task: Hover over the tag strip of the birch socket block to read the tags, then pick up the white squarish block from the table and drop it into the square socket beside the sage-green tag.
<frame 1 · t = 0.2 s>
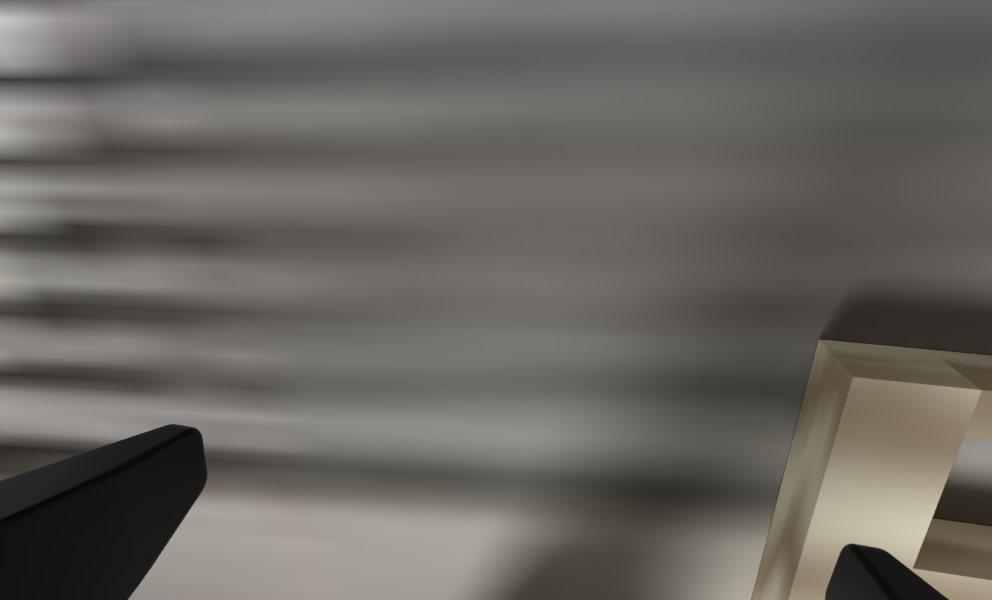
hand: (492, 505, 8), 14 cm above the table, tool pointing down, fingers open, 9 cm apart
socket block: (936, 553, 22), on the table
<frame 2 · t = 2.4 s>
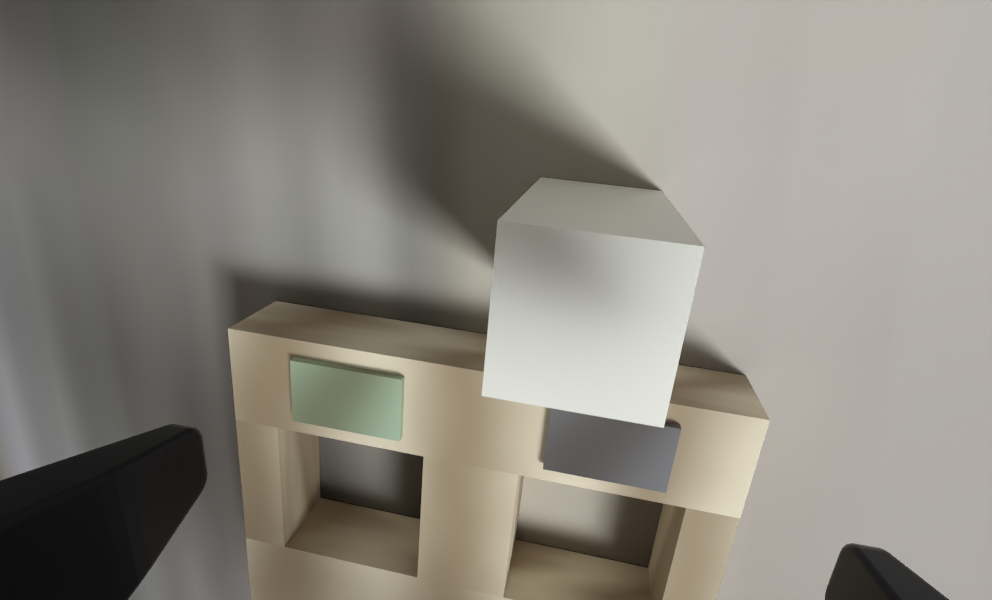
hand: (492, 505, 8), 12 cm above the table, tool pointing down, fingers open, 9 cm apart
socket block: (482, 478, 23), on the table
white squarish block: (591, 242, 19), on the table
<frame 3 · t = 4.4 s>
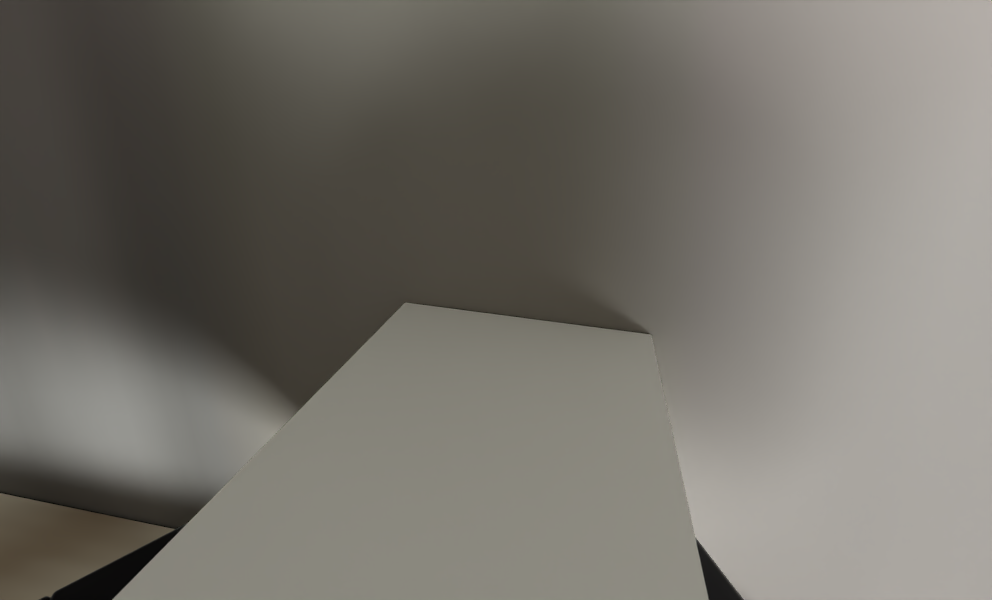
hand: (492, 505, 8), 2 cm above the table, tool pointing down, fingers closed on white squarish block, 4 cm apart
white squarish block: (514, 424, 9), on the table, touching gripper
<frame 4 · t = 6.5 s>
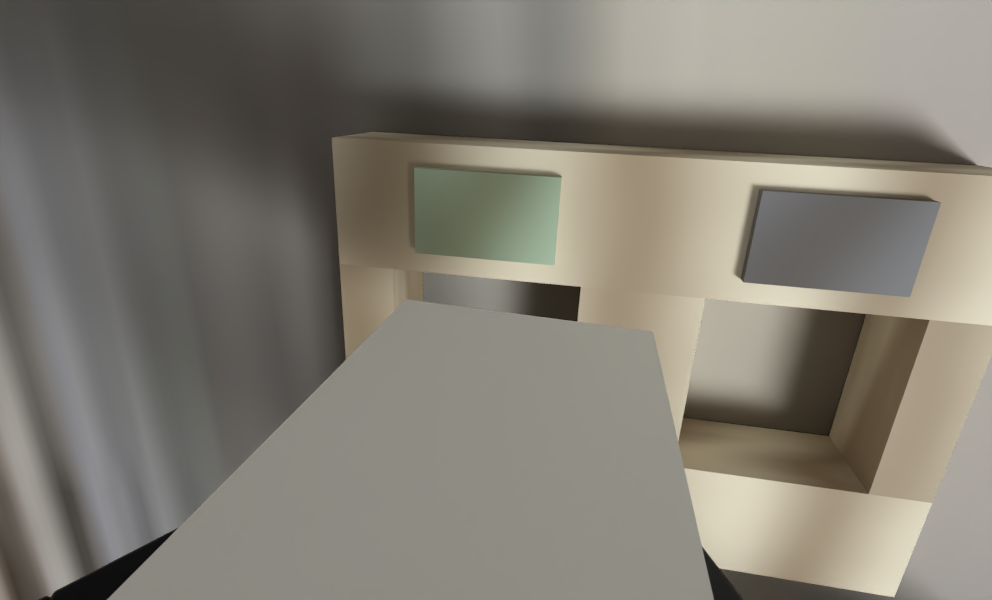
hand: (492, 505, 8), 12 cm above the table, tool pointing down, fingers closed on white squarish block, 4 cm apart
socket block: (624, 339, 19), on the table
white squarish block: (515, 421, 9), point 10 cm above the table, touching gripper
when the fingers open (4 cm above the table, at t = 8.8 s): white squarish block drops 2 cm, resting in socket block.
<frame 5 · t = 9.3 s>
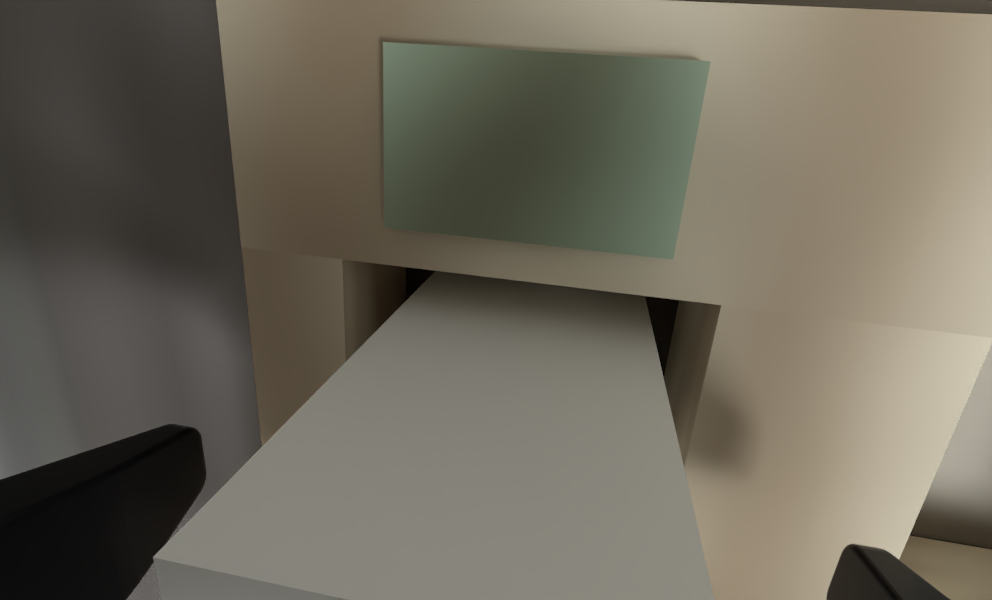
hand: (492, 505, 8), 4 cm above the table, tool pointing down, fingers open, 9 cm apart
socket block: (748, 392, 11), on the table
white squarish block: (532, 359, 12), resting in socket block
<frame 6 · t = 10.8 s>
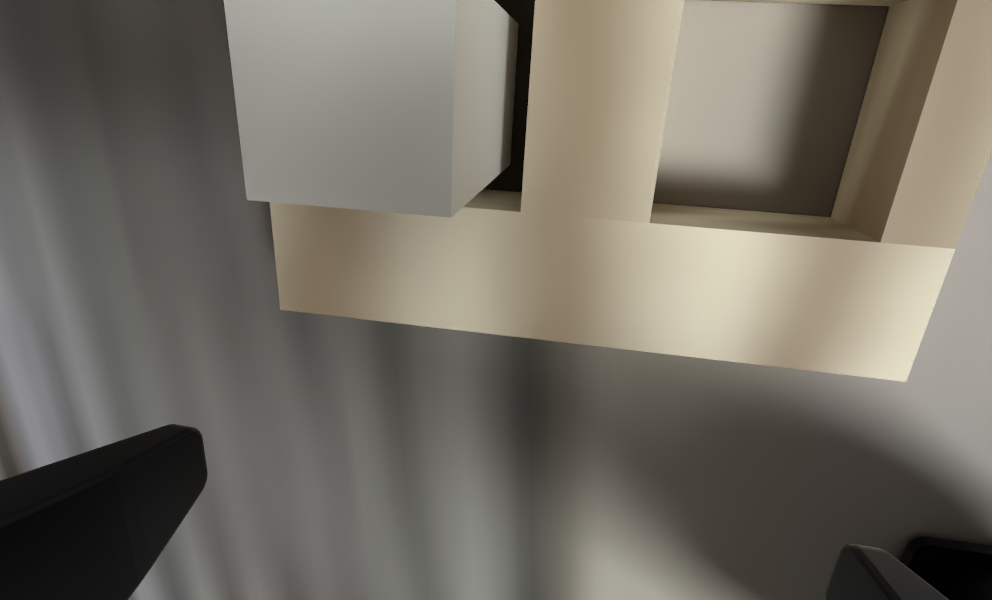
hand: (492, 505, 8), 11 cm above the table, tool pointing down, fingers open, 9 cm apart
socket block: (595, 103, 16), on the table
white squarish block: (450, 93, 17), resting in socket block
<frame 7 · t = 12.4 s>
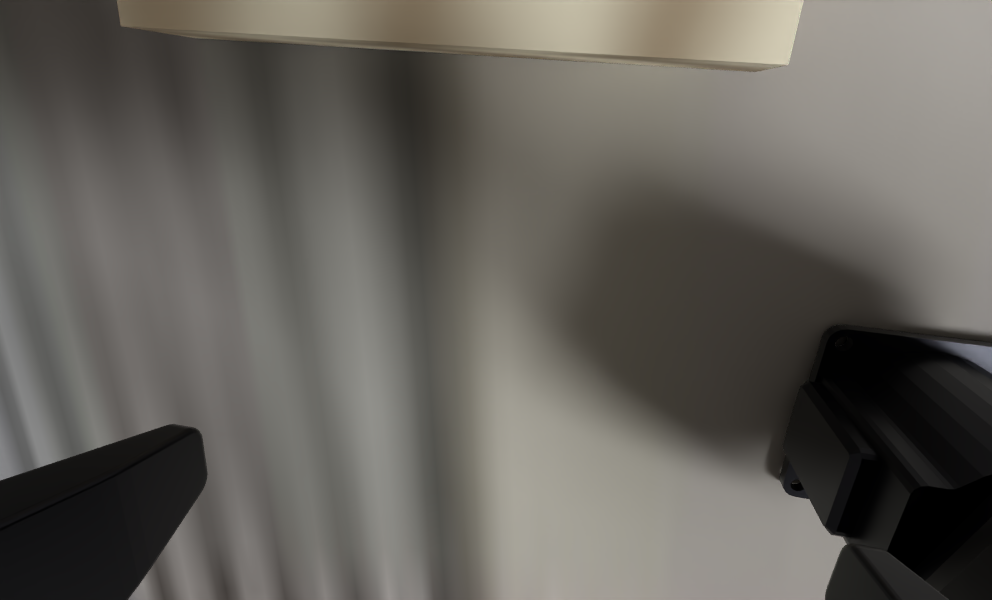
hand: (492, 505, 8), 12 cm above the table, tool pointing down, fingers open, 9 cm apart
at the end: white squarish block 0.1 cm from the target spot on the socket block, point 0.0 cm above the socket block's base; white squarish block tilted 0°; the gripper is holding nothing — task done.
